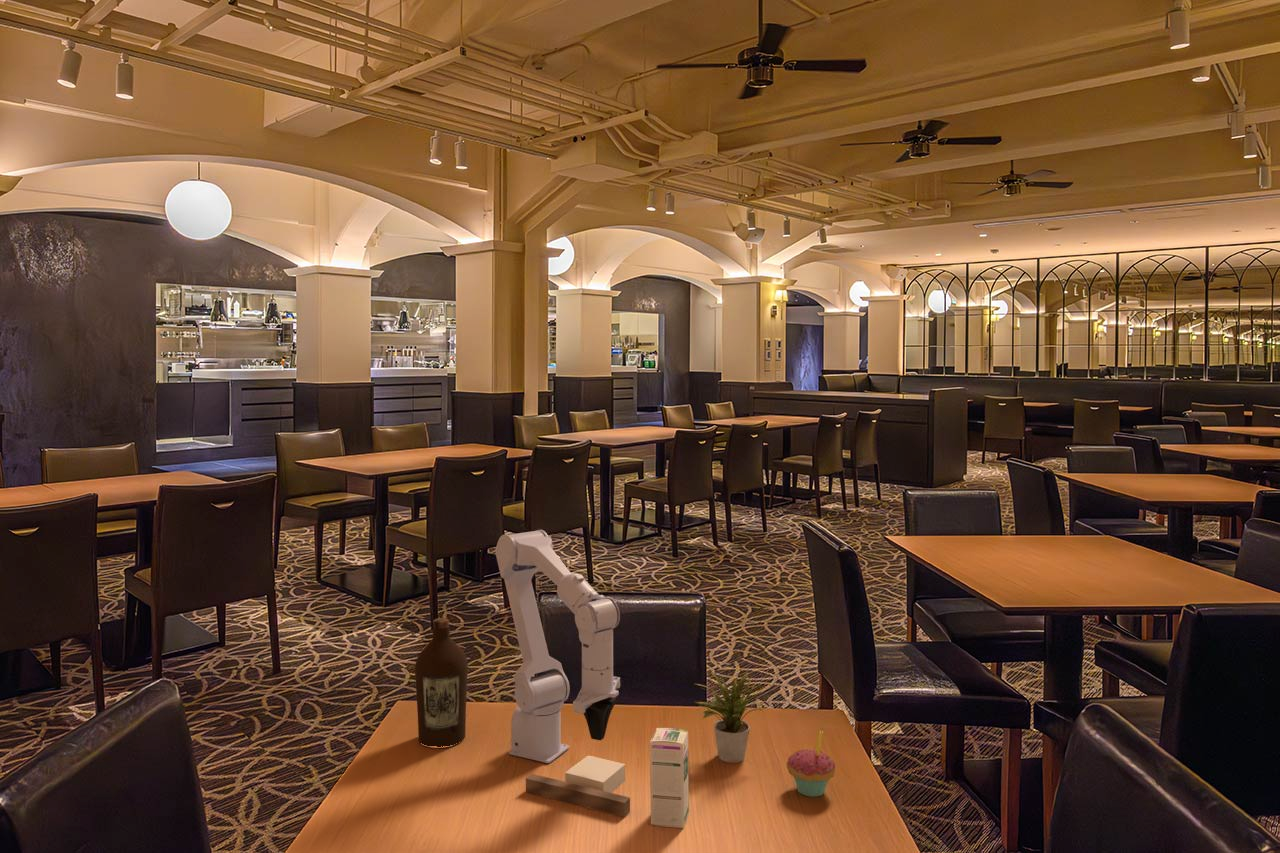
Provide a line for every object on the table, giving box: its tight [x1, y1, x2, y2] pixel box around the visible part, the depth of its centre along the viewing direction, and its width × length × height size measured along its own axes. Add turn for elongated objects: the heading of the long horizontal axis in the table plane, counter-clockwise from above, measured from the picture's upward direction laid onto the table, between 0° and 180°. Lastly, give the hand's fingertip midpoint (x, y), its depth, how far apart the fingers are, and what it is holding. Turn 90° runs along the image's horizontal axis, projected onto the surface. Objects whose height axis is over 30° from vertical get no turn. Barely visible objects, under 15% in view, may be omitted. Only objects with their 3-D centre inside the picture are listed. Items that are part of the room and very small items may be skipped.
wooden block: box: [564, 755, 626, 793], centre depth 152 cm, size 8×8×4 cm
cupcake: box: [786, 727, 836, 798], centre depth 149 cm, size 9×8×12 cm
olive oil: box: [414, 617, 469, 747], centre depth 171 cm, size 11×11×25 cm
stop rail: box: [525, 773, 631, 818], centre depth 146 cm, size 20×2×2 cm, turn 64°
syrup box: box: [649, 727, 690, 829], centre depth 140 cm, size 6×6×14 cm
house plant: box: [695, 671, 765, 764], centre depth 164 cm, size 14×14×16 cm
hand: (597, 738), depth 152 cm, fingers closed
